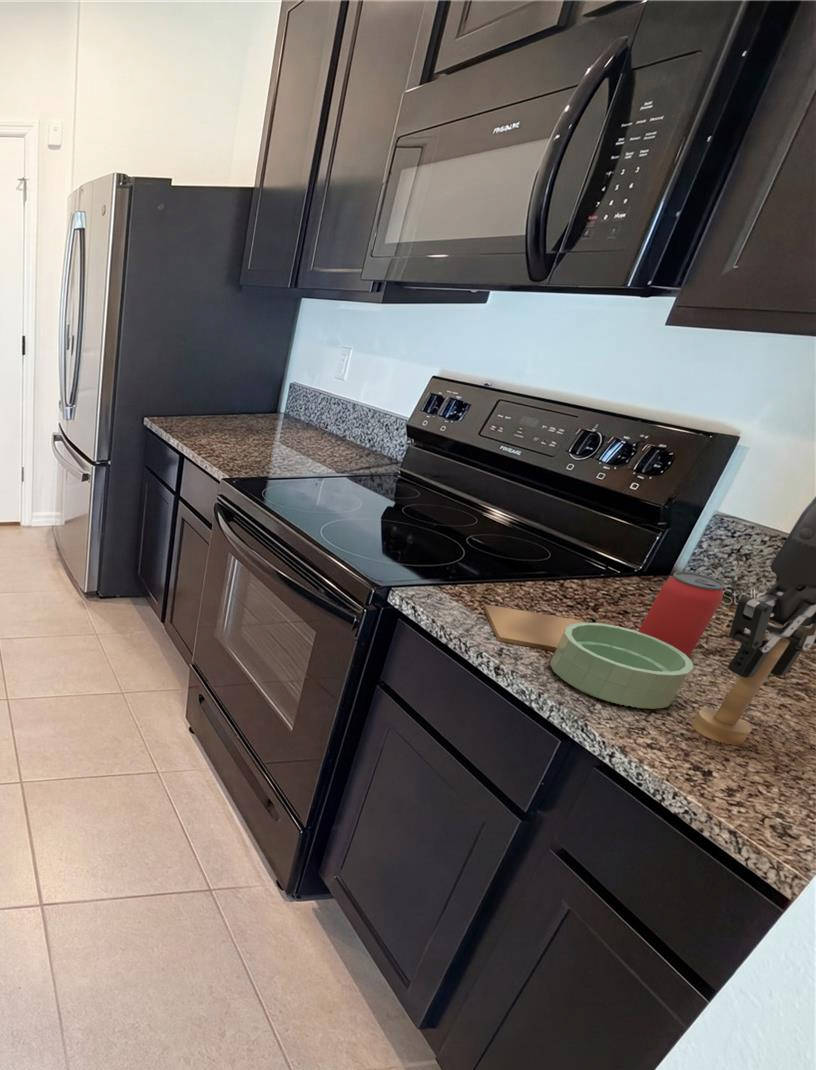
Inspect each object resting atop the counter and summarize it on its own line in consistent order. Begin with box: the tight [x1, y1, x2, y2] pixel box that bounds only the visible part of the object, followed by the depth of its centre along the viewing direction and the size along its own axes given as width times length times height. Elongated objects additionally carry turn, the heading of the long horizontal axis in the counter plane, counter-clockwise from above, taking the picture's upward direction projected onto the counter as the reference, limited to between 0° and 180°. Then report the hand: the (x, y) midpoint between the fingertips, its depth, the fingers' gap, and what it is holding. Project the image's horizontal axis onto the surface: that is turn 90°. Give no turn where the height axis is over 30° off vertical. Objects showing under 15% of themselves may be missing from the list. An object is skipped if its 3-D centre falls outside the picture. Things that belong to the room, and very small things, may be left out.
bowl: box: [549, 621, 694, 710], centre depth 91 cm, size 14×14×6 cm
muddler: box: [691, 633, 790, 746], centre depth 79 cm, size 5×5×14 cm
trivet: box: [482, 603, 585, 652], centre depth 104 cm, size 14×12×1 cm
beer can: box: [638, 571, 726, 657], centre depth 98 cm, size 7×7×12 cm
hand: (756, 672), depth 78 cm, fingers open, 4 cm apart
